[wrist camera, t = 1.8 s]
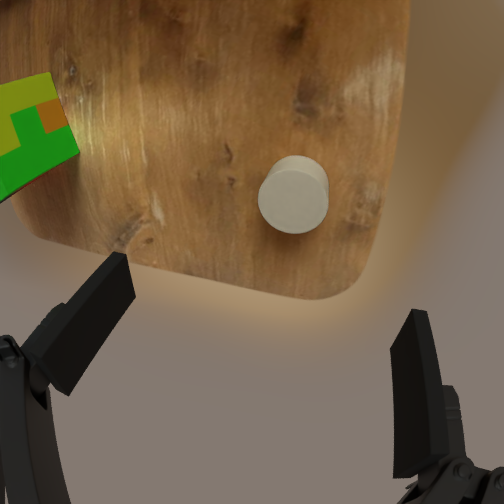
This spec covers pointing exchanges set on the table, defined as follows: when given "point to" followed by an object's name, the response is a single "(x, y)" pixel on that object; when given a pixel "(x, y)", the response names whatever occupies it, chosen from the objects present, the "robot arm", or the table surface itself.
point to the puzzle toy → (31, 132)
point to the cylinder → (294, 195)
